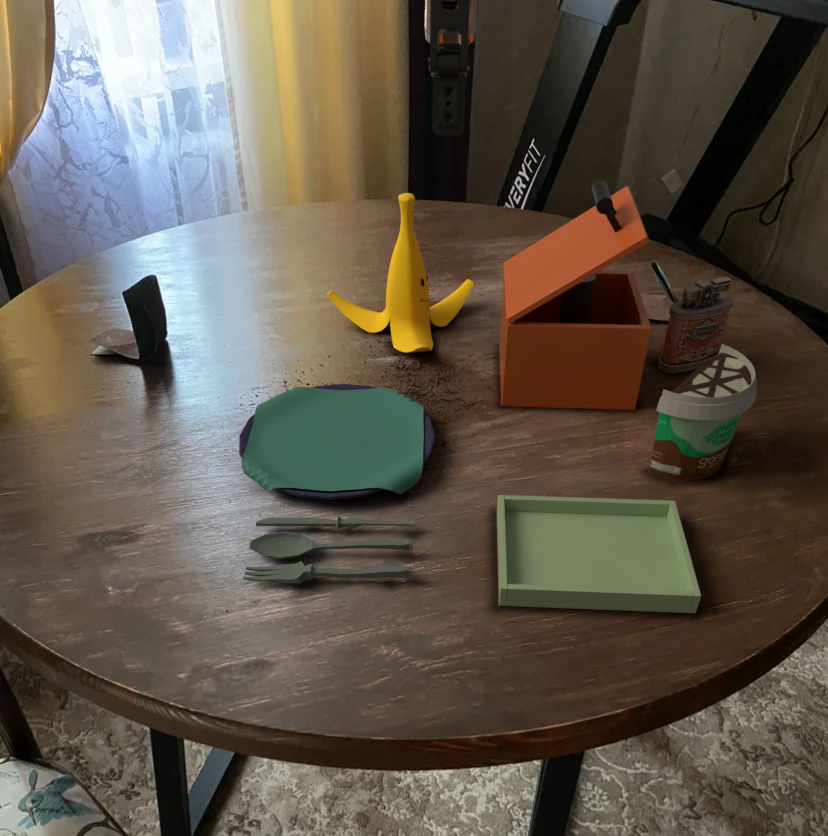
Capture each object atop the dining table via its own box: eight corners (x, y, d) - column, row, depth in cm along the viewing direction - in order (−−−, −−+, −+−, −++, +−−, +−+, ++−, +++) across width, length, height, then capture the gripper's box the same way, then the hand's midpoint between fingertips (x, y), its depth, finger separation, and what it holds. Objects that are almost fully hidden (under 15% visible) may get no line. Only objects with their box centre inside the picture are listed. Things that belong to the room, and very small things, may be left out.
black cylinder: (581, 358, 98) (594, 268, 91) (584, 373, 96) (597, 282, 89) (552, 357, 99) (562, 268, 91) (554, 372, 96) (565, 281, 89)
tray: (670, 517, 78) (675, 500, 77) (695, 613, 69) (701, 595, 68) (496, 511, 79) (497, 494, 77) (498, 606, 70) (500, 588, 68)
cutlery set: (434, 398, 94) (434, 380, 92) (435, 590, 71) (436, 570, 70) (257, 397, 94) (254, 380, 92) (202, 588, 71) (197, 569, 70)
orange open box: (619, 348, 102) (633, 271, 95) (635, 410, 92) (651, 328, 85) (499, 345, 102) (504, 268, 96) (501, 406, 92) (507, 325, 86)
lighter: (669, 375, 97) (687, 294, 90) (651, 362, 99) (668, 282, 93) (724, 361, 99) (746, 281, 93) (706, 348, 102) (726, 269, 95)
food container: (697, 505, 79) (723, 417, 73) (640, 479, 82) (660, 391, 76) (756, 449, 86) (784, 363, 79) (701, 426, 89) (724, 341, 83)
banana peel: (474, 303, 111) (481, 172, 100) (426, 374, 97) (427, 232, 86) (359, 285, 115) (352, 157, 104) (298, 350, 102) (283, 212, 91)
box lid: (630, 190, 89) (611, 154, 87) (650, 242, 79) (628, 202, 77) (506, 267, 96) (485, 235, 94) (509, 324, 86) (486, 289, 83)
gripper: (521, -162, 46) (502, 148, 57) (513, -171, 57) (498, 92, 68) (385, -161, 47) (392, 146, 57) (402, -171, 57) (405, 91, 68)
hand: (449, 116), depth 62 cm, fingers open, 8 cm apart
